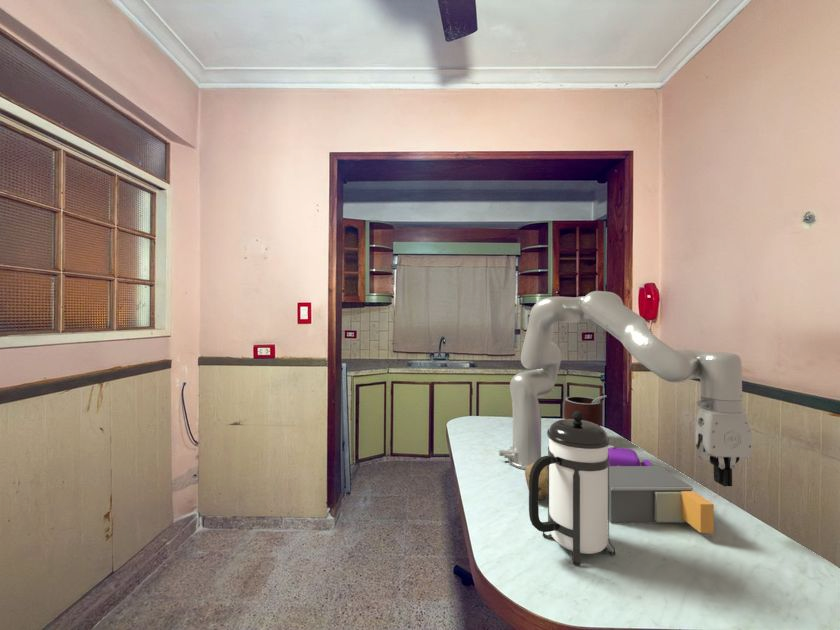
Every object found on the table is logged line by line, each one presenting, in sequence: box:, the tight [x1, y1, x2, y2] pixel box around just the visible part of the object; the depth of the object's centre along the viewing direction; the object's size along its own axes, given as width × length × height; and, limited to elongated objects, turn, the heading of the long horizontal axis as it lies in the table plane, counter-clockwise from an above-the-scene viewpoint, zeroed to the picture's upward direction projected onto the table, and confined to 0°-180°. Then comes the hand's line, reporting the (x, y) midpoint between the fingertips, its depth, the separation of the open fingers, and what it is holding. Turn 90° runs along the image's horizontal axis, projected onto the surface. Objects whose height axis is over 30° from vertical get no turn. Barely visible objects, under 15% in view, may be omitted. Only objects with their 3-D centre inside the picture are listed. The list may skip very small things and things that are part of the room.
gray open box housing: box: [609, 465, 694, 524], centre depth 94 cm, size 22×12×9 cm, turn 90°
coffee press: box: [528, 411, 616, 566], centre depth 80 cm, size 17×16×30 cm
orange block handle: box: [655, 490, 715, 534], centre depth 85 cm, size 9×7×8 cm
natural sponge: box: [524, 462, 548, 500], centre depth 101 cm, size 9×9×10 cm
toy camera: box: [608, 444, 652, 466], centre depth 110 cm, size 11×14×10 cm
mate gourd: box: [563, 394, 607, 427], centre depth 144 cm, size 16×14×20 cm
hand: (723, 483), depth 84 cm, fingers closed
